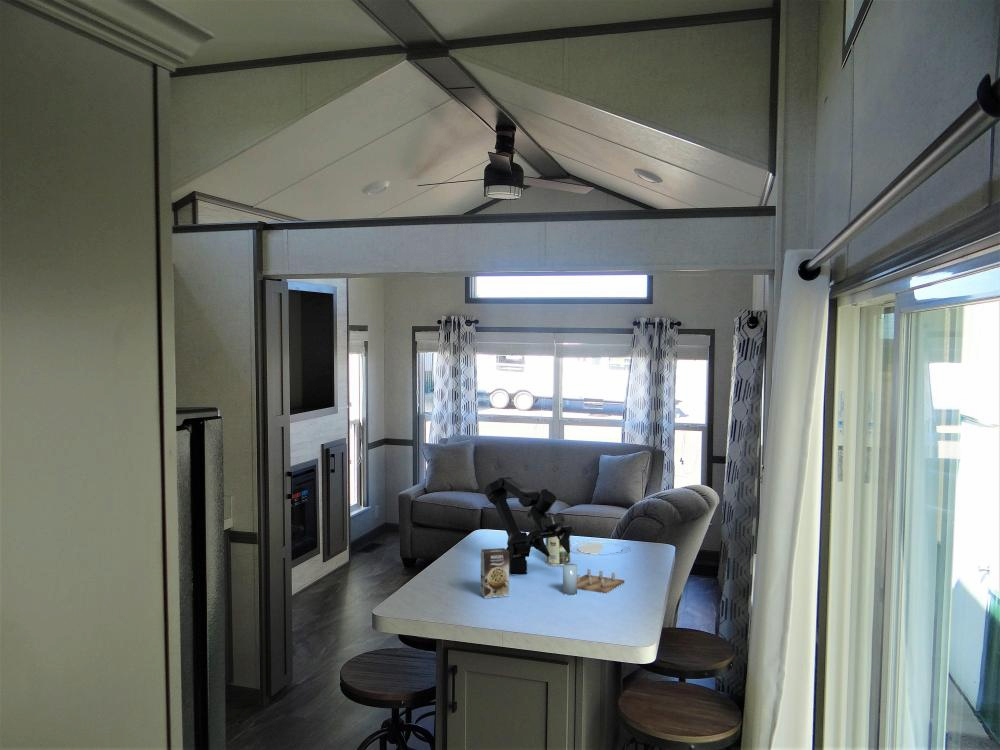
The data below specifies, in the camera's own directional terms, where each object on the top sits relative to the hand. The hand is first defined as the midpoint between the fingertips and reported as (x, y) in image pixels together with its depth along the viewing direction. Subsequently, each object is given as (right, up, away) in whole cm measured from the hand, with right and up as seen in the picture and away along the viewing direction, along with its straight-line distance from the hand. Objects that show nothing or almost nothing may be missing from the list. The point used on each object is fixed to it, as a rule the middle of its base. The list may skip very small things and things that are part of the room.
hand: (559, 554), depth 290 cm
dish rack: (+14, -12, +5) cm, 19 cm away
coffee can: (+2, -12, +39) cm, 41 cm away
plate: (+23, -12, +63) cm, 68 cm away
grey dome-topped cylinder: (+3, -13, -5) cm, 14 cm away
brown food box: (-23, -13, -7) cm, 28 cm away
